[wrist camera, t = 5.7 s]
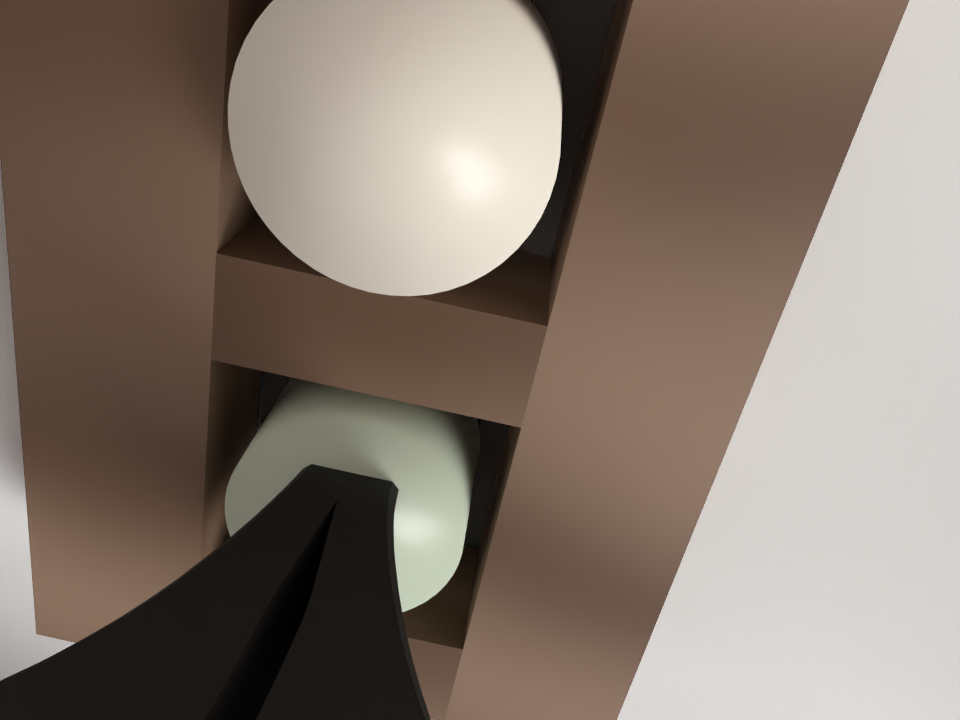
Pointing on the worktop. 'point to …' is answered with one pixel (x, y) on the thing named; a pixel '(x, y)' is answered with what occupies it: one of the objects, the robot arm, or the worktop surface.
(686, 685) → the worktop surface
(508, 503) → the button panel
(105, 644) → the robot arm
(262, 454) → the sage button
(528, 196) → the cream button
